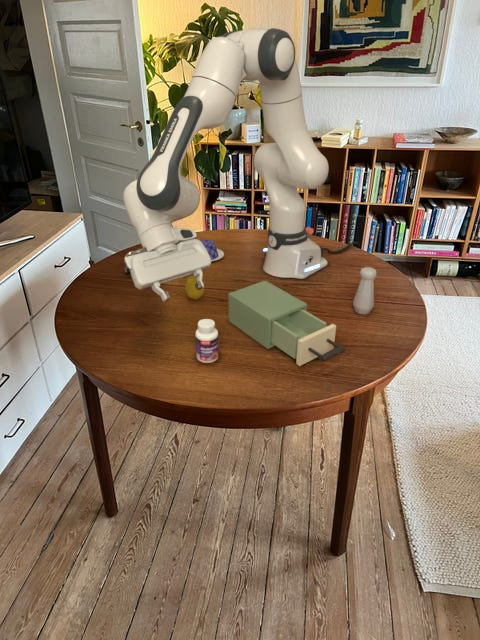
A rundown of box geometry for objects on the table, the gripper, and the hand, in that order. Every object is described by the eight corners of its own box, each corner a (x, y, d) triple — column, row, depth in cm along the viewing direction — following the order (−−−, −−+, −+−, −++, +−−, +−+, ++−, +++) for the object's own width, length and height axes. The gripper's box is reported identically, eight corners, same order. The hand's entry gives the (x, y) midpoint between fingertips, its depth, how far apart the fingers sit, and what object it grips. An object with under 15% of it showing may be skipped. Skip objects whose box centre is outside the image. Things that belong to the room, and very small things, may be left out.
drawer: (350, 359, 110) (353, 335, 106) (315, 377, 104) (318, 353, 101) (290, 322, 124) (292, 300, 121) (257, 336, 118) (258, 313, 115)
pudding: (189, 264, 158) (188, 249, 155) (190, 250, 168) (189, 236, 165) (225, 263, 159) (224, 248, 156) (223, 249, 169) (222, 235, 166)
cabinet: (304, 332, 122) (307, 303, 117) (267, 349, 115) (268, 319, 111) (264, 307, 133) (265, 280, 128) (228, 321, 126) (228, 293, 122)
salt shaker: (350, 313, 130) (356, 271, 123) (353, 304, 134) (359, 263, 127) (371, 317, 128) (378, 275, 121) (373, 307, 132) (381, 266, 126)
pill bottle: (200, 365, 109) (199, 331, 104) (193, 353, 114) (191, 319, 109) (222, 360, 111) (221, 326, 106) (214, 348, 115) (213, 315, 110)
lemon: (202, 305, 134) (200, 280, 130) (183, 303, 135) (181, 278, 131) (207, 296, 139) (206, 271, 134) (189, 294, 140) (187, 270, 135)
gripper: (124, 247, 105) (148, 302, 103) (200, 228, 116) (223, 278, 114) (118, 259, 110) (141, 311, 109) (191, 240, 121) (214, 287, 119)
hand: (184, 294), depth 111 cm, fingers open, 8 cm apart
